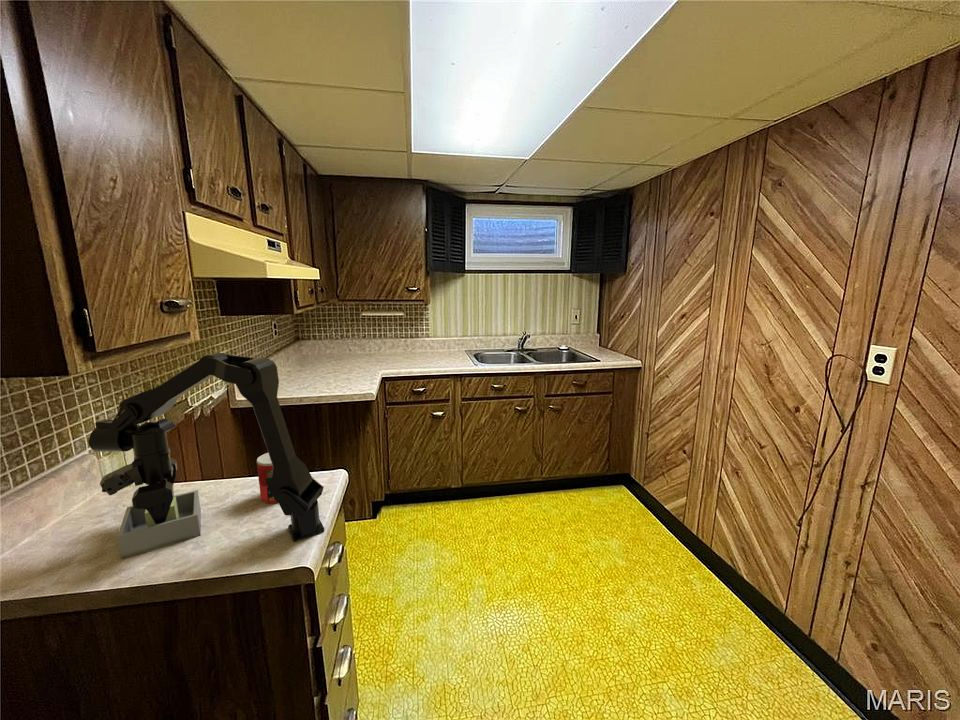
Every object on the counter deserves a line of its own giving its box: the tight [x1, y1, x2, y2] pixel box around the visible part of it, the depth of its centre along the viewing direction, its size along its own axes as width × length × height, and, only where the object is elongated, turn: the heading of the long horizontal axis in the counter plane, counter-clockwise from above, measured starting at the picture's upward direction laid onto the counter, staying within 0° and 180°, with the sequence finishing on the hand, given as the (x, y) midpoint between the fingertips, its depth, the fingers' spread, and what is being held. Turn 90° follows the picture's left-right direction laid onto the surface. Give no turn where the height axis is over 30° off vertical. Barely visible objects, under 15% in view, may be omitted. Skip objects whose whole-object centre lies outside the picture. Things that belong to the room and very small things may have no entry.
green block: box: [145, 495, 179, 527], centre depth 86 cm, size 5×5×6 cm
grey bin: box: [116, 489, 202, 560], centre depth 86 cm, size 13×13×5 cm
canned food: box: [256, 452, 278, 504], centre depth 100 cm, size 8×8×11 cm
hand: (162, 515), depth 86 cm, fingers open, 9 cm apart
